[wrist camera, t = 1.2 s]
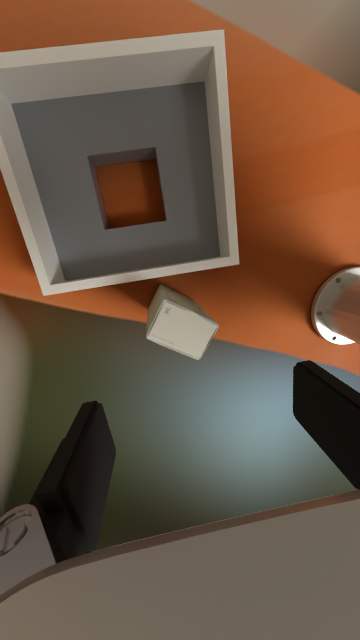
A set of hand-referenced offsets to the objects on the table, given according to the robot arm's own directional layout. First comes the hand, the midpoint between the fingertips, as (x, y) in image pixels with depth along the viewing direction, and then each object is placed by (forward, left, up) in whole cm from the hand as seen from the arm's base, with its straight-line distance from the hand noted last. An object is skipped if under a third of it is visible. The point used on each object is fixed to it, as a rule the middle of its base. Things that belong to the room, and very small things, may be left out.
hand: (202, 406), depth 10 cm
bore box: (+3, -15, -23) cm, 28 cm away
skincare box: (0, 0, -23) cm, 23 cm away
